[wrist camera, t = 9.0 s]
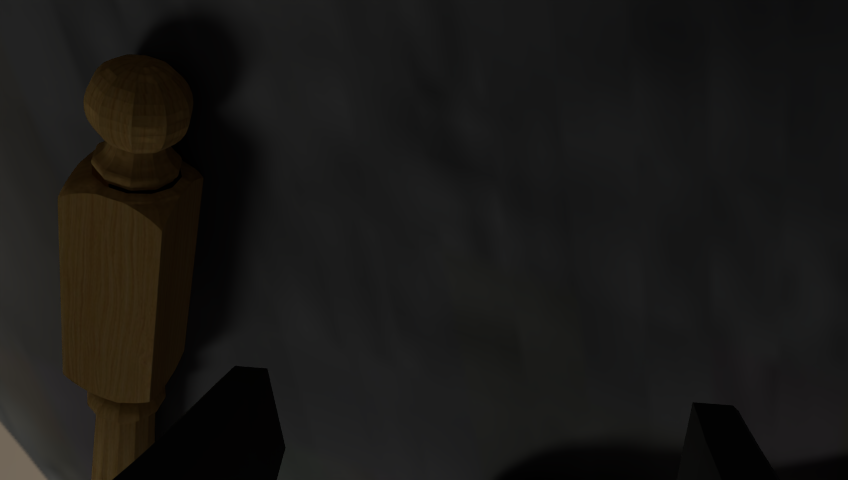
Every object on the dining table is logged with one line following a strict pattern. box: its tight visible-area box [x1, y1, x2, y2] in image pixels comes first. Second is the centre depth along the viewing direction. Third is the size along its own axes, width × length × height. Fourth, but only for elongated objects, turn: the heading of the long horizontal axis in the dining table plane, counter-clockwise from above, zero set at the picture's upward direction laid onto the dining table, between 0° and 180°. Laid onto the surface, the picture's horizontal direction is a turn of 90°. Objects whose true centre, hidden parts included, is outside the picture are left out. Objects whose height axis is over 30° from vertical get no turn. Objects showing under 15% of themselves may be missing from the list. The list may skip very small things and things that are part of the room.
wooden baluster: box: [58, 55, 203, 480], centre depth 28 cm, size 3×3×30 cm
